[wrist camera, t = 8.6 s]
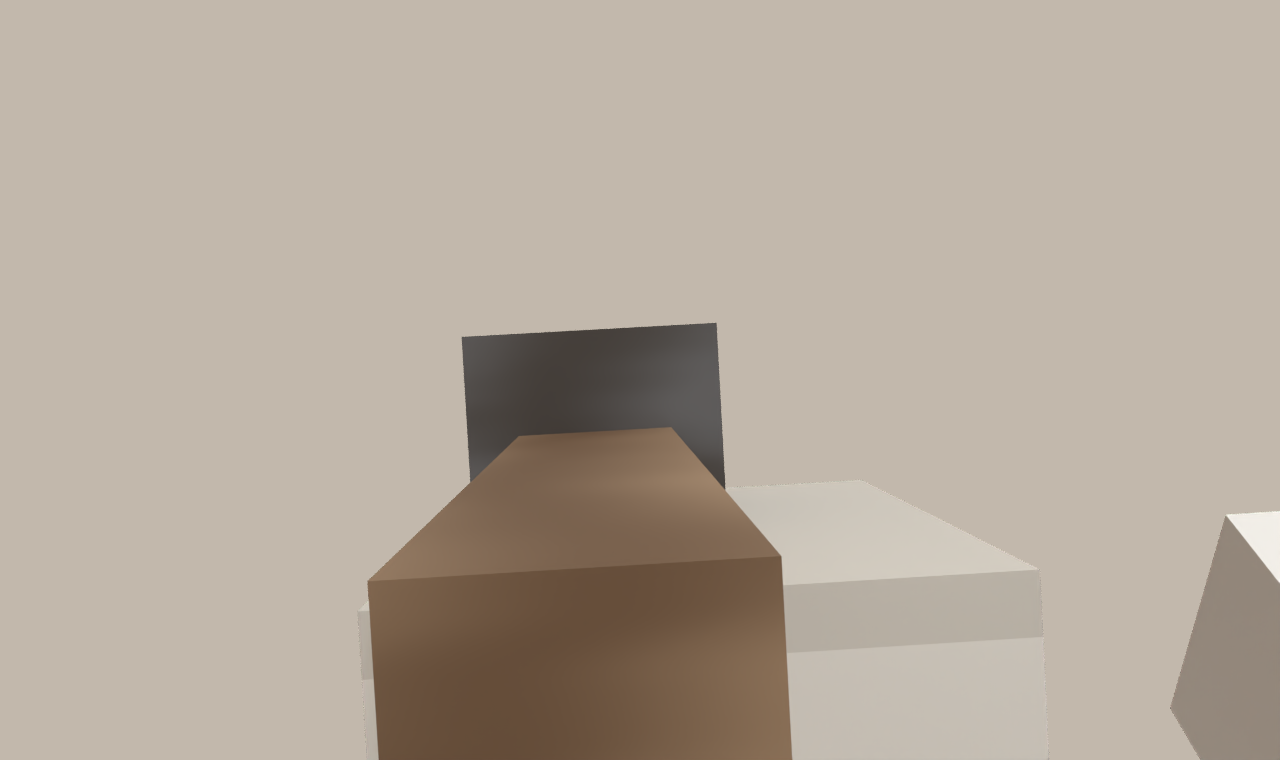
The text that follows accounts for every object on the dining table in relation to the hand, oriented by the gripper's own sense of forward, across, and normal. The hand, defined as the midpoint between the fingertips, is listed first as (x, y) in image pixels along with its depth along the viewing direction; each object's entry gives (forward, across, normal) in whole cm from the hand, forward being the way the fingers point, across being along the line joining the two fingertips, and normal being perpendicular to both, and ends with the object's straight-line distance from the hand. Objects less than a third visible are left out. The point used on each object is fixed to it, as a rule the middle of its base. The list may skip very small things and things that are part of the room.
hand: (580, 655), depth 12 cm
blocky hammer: (+5, 0, +4) cm, 6 cm away
